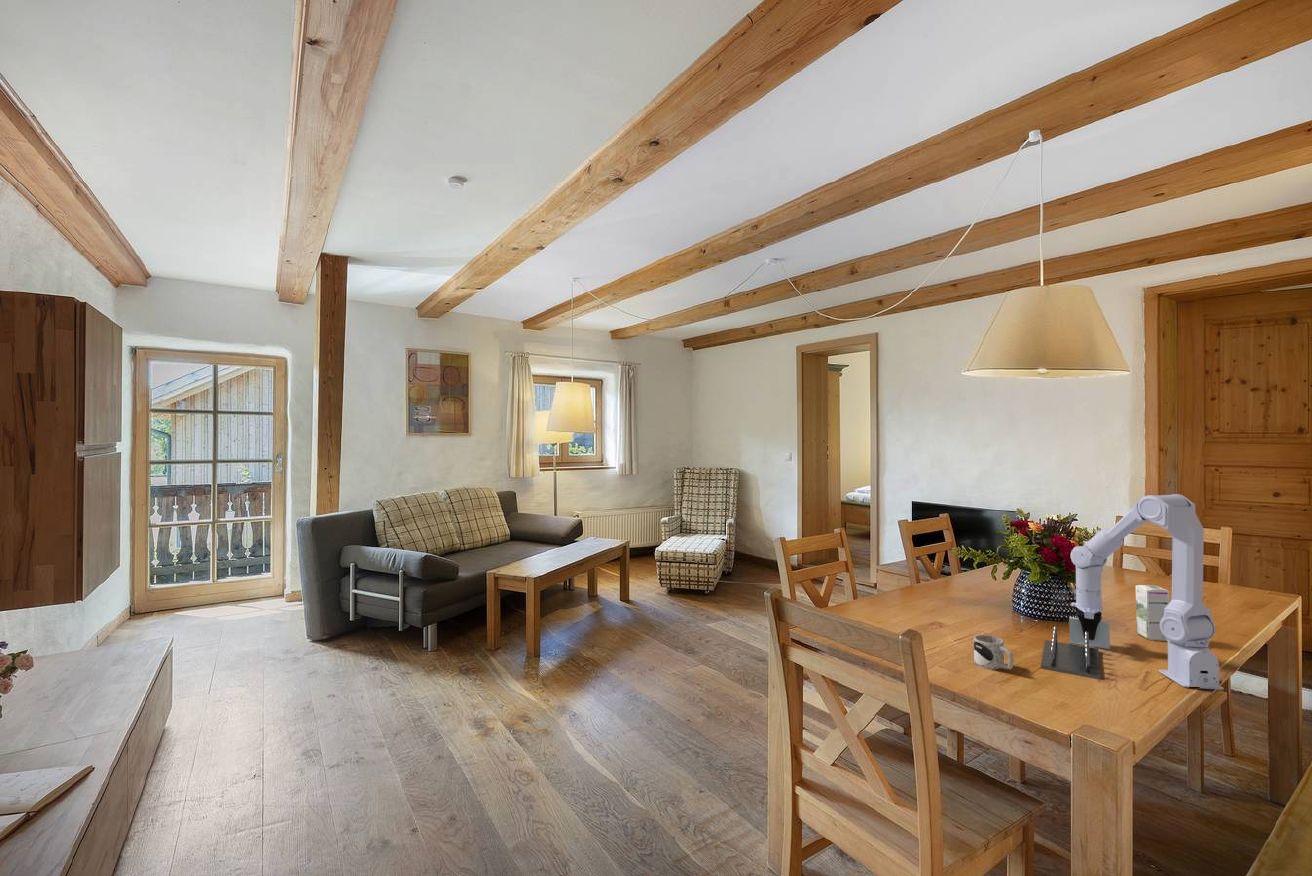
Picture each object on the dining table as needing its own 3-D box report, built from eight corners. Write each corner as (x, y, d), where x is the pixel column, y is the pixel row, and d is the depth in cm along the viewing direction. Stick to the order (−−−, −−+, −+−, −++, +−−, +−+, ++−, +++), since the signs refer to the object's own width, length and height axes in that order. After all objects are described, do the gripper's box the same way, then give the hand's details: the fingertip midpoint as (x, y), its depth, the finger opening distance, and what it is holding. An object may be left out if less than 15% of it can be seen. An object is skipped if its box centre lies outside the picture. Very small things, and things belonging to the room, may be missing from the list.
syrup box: (1171, 641, 165) (1170, 590, 165) (1147, 640, 166) (1146, 589, 166) (1158, 634, 171) (1157, 585, 171) (1135, 633, 172) (1134, 584, 172)
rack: (1100, 679, 140) (1100, 657, 140) (1040, 668, 147) (1040, 647, 147) (1098, 651, 158) (1098, 632, 158) (1045, 642, 165) (1044, 624, 165)
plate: (1109, 649, 159) (1109, 623, 159) (1069, 642, 165) (1069, 618, 165) (1109, 647, 161) (1109, 622, 161) (1069, 641, 166) (1069, 616, 166)
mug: (968, 662, 152) (967, 636, 152) (986, 658, 154) (986, 633, 154) (1003, 676, 142) (1002, 649, 142) (1022, 672, 145) (1022, 645, 145)
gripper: (1071, 582, 171) (1071, 628, 171) (1070, 593, 159) (1071, 642, 159) (1101, 585, 167) (1102, 633, 167) (1103, 597, 155) (1103, 648, 155)
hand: (1089, 638), depth 163 cm, fingers closed on plate, 2 cm apart
